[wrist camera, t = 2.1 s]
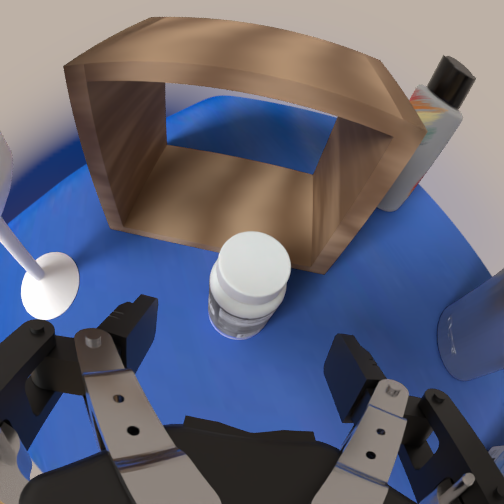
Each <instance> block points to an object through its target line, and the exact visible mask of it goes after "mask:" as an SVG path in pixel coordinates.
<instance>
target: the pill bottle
mask: <svg viewBox="0 0 504 504" xmlns="http://www.w3.org/2000/svg"><path fill="white" fill-rule="evenodd" d="M290 272H291V262H290V258H289V255H288V253H287V251H286V249H285V248H284V247H283V245H282V244H281V243H280V242H279V241H277V240H276V239H275V238H273V237H272V236H270V235H267V234H265V233H261V232H256V231H247V232H242V233H238V234H236V235H234V236H232V237H231V238H230V239H228V240H227V241H226V242H225V244H224V245H223V246H222V248H221V250H220V253H219V257H218V260H217V261H216V262H215V264H214V266H213V268H212V270H211V273H210V280H209V304H208V313H209V318H210V321H211V323H212V325H213V326H214V328H215V329H216V330H217V331H218V332H219V333H220V334H222V335H224V336H226V337H228V338H231V339H236V340H241V339H247V338H250V337H252V336H254V335H256V334H257V333H258V332H260V331H261V329H262V328H263V327H264V326H265V325H266V323H267V322H268V320H269V319H270V317H271V316H272V315H273V313H274V312H275V311H276V309H277V308H278V306H279V305H280V304H281V303H282V301H283V298H284V295H285V292H286V286H287V281H288V279H289V276H290Z"/></svg>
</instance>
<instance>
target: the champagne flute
mask: <svg viewBox="0 0 504 504" xmlns="http://www.w3.org/2000/svg"><path fill="white" fill-rule="evenodd" d="M12 172H13V158H12V152H11V150H10V148H9V146H8V144H7V142H6V141H5V139H4V137H3V135H2V134H1V132H0V242H1V243H2V244H3V245H4V246H5V248H6V249H7V250H8V251H9V252H10V253H11V254H12V256H13V257H14V258H15V259H16V260H17V261H18V262H19V263H20V264H21V265H22V267H23V268H24V269H25V270H26V271H27V272H26V274H25V276H24V279H23V282H22V287H21V296H22V301H23V304H24V306H25V308H26V310H27V311H28V312H29V313H30V315H32V316H33V317H35V318H38V319H41V320H48V319H53V318H55V317H58V316H59V315H61V314H62V313H64V312H65V311H66V310H67V309H68V308H69V306H70V305H71V303H72V302H73V300H74V298H75V296H76V294H77V291H78V286H79V272H78V268H77V266H76V264H75V262H74V261H73V259H72V258H70V257H69V256H68V255H66V254H64V253H60V252H51V253H47V254H45V255H43V256H41V257H39V258H38V259H37V260H34V258H33V257H32V256H31V255H30V254H29V252H28V251H27V250H26V249H25V247H24V246H23V245H22V244H21V242H20V241H19V240H18V239H17V237H16V236H15V235H14V233H13V232H12V231H11V229H10V228H9V227H8V225H7V224H6V223H5V221H4V220H3V218H2V217H1V215H2V212H3V209H4V206H5V203H6V200H7V197H8V194H9V190H10V186H11V179H12Z"/></svg>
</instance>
